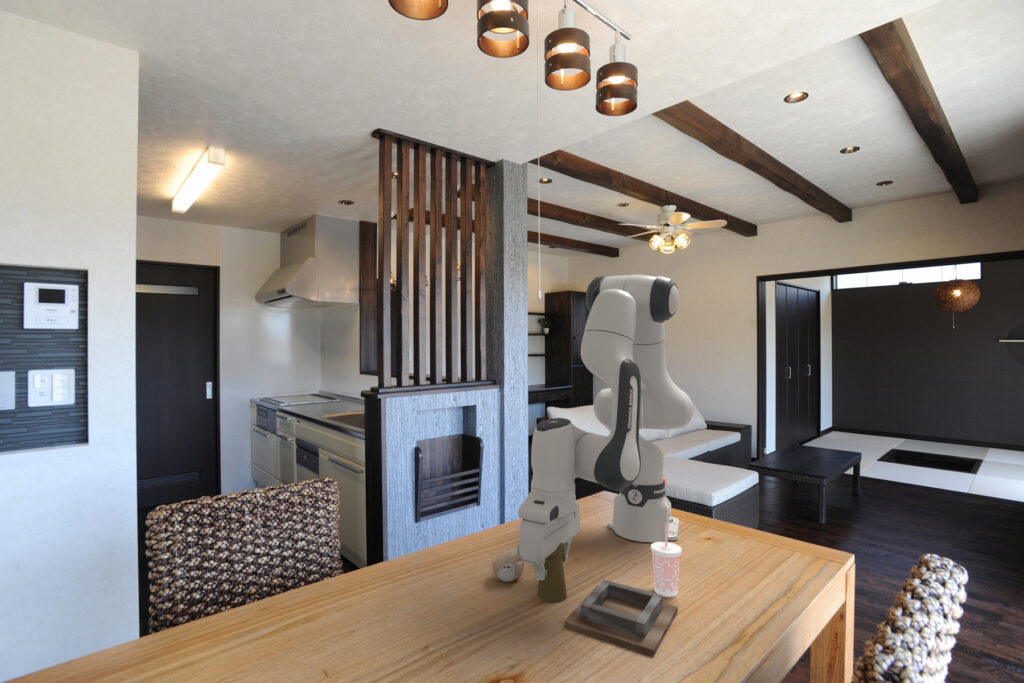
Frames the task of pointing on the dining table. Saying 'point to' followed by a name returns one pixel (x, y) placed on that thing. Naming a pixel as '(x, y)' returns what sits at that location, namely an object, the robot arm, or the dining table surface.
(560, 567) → the olive pawn peg
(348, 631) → the dining table surface
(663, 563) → the beverage cup
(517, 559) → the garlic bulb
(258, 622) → the dining table surface
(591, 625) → the socket base
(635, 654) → the dining table surface
